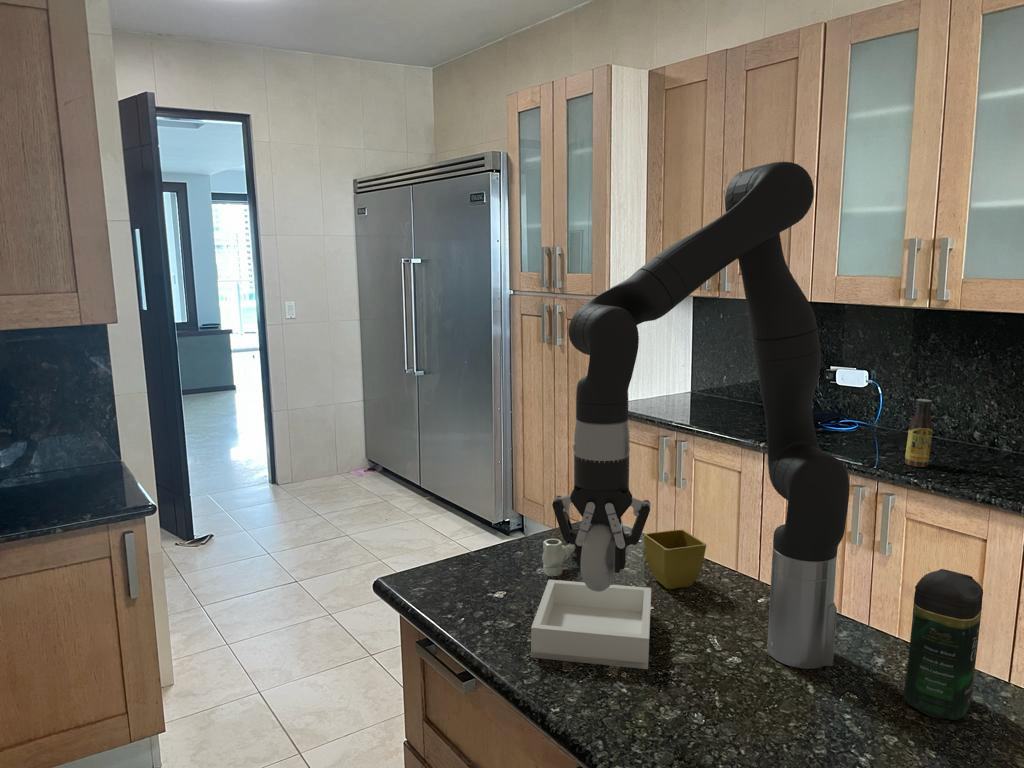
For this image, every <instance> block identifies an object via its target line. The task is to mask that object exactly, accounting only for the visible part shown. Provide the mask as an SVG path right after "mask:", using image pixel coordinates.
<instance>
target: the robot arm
mask: <svg viewBox="0 0 1024 768" xmlns="http://www.w3.org/2000/svg"><path fill="white" fill-rule="evenodd" d="M814 195H815V189H814V182H813V180H812V177H811V176H810V174H809V172H808V171H807V170H806V169H805V168H804V167H802V166H801V165H799V164H798V163H795V162H793V161H792V162H791V161H777V162H771V163H767V164H763V165H759V166H755V167H750V168H747V169H743V170H742V171H739V172H738V173H736V174H735V175H734V176H733V177H732V179H730V181H729V183H728V185H727V188H726V191H725V195H724V207H725V213H723V214H722V215H721V216H720V217H718V218H716V219H714V220H712V221H711V222H709V223H708V224H707V225H705V226H703V227H701V228H700V229H698V230H696V231H695V232H694V231H693V232H692V233H691V234H689V235H687V236H685V237H683V238H682V239H680V240H678V241H676V242H674V243H673V244H671V245H669V246H667V248H664V250H662V251H660V252H659V253H658V254H657V255H655V256H654V257H653V258H652V259H650V260H649V261H648V262H647V263H645V264H644V265H643V266H641V267H640V268H639V269H638V270H636V271H635V272H634V273H633V274H632V275H631V276H629V277H628V278H627V279H625V280H623V281H621V282H620V283H618V284H616V285H613V286H612V287H610V288H609V289H607V290H604V291H603V292H601V293H600V294H598V295H596V296H595V297H593V298H592V299H590V300H587V302H586V303H584V304H583V305H582V306H580V308H578V310H577V311H576V312H575V313H574V315H573V316H572V318H570V322H569V325H568V338H569V341H570V343H571V344H572V346H573V347H574V348H575V349H576V350H577V351H578V352H580V353H582V354H584V355H587V356H589V361H588V367H587V374H586V375H585V376H583V377H581V378H580V379H579V381H578V382H577V385H576V394H575V397H576V398H575V403H576V404H575V405H576V406H575V428H574V437H573V444H572V445H573V446H572V449H573V459H574V460H573V471H574V472H573V489H572V490H571V493H570V494H569V495H563V496H561V495H557V496H555V498H554V499H553V501H552V503H551V505H552V509H553V511H554V516H555V518H556V521H557V524H558V527H559V530H560V533H561V535H562V539H563V540H564V541H565V542H566V541H572V542H574V543H575V544H576V555H575V556H576V557H575V563H576V565H577V567H581V564H580V563H581V552H582V546H583V542H584V539H585V536H586V534H587V532H588V530H589V528H590V526H591V525H592V524H598V523H602V524H605V525H610V526H611V529H612V533H613V534H614V538H615V541H616V547H615V573H616V574H620V573H621V570H625V567H626V561H627V555H626V554H627V547H628V546H636V545H638V544H639V541H640V539H641V536H642V534H643V531H644V528H645V525H646V523H647V520H648V517H649V515H650V512H651V501H650V500H648V499H643V500H640V499H638V498H635V497H633V495H632V492H631V491H630V451H631V450H630V449H631V447H630V444H631V443H630V428H629V387H630V385H631V384H630V383H631V380H632V378H633V373H634V370H635V365H636V361H637V356H638V351H639V347H640V346H639V345H640V344H639V343H640V342H639V341H640V340H639V339H640V338H639V337H640V335H639V329H638V325H639V324H643V323H645V322H651V321H656V320H658V319H661V318H662V317H664V316H665V315H667V314H668V313H669V312H670V311H671V310H673V309H674V308H675V307H676V306H678V305H679V304H681V303H682V302H683V301H684V300H685V299H687V298H688V297H689V296H690V295H691V294H692V293H693V292H695V291H696V290H698V289H699V288H700V287H701V286H702V285H704V284H705V283H706V282H708V281H709V280H710V279H712V277H714V276H716V274H718V273H719V272H720V271H722V270H723V269H725V268H726V267H728V266H729V265H730V264H731V263H733V262H734V261H736V260H738V265H739V269H740V273H741V274H740V275H741V279H742V285H743V291H744V296H745V302H746V309H747V312H748V317H749V318H748V320H749V327H750V328H749V329H750V334H751V335H750V337H751V342H752V348H753V353H754V354H753V356H754V363H755V367H756V372H757V375H758V382H759V390H760V395H761V399H762V405H763V411H764V416H765V427H766V444H767V468H768V475H769V476H768V477H769V480H770V483H771V485H772V487H773V489H774V490H775V491H776V492H777V494H778V495H780V496H781V497H782V498H783V499H785V500H786V501H787V509H786V517H785V523H783V524H781V525H779V526H777V527H776V528H775V529H774V531H773V532H774V533H773V537H772V538H773V541H772V556H771V575H770V587H769V588H770V590H769V607H768V608H769V610H768V623H767V625H768V627H767V636H766V637H767V639H766V640H767V642H766V643H767V646H766V649H767V650H766V651H767V653H768V654H769V655H770V657H772V659H775V661H777V662H779V663H782V664H783V665H786V666H789V667H792V668H797V669H805V670H807V669H808V670H809V669H810V670H811V669H813V670H814V669H819V668H823V667H833V666H834V653H835V639H836V629H837V628H836V627H837V613H838V612H837V610H838V609H837V605H836V604H835V600H834V599H835V589H836V588H835V586H836V574H837V573H836V570H837V560H838V547H839V545H840V543H841V541H842V539H843V537H844V535H845V530H846V524H847V518H848V517H847V516H848V508H849V502H850V501H849V500H850V491H851V490H850V476H849V473H848V469H847V467H846V466H845V464H844V463H843V462H842V461H841V460H840V459H839V458H837V457H836V456H834V455H832V454H830V453H828V452H825V451H824V450H822V449H821V447H820V444H819V443H818V438H817V434H816V428H815V424H814V423H815V422H814V416H813V415H814V414H813V402H814V396H815V393H816V392H815V391H816V389H817V386H818V382H819V381H818V380H819V377H820V373H821V372H820V371H821V366H822V353H821V352H822V351H821V343H820V336H819V330H818V323H817V319H816V314H815V312H814V310H813V308H812V306H811V304H810V302H809V300H808V298H807V297H806V295H805V293H804V291H803V290H802V289H801V287H800V286H799V284H798V282H797V280H796V279H795V278H794V276H793V275H792V273H791V271H790V269H789V266H788V265H787V264H788V263H787V262H786V259H785V256H784V251H783V246H782V245H783V244H782V239H781V233H782V232H783V231H786V230H787V229H789V228H791V227H793V226H794V225H796V224H798V223H799V222H800V221H802V220H803V218H804V217H805V216H806V215H807V214H808V213H809V211H810V210H811V209H810V208H812V207H811V206H812V204H813V201H814V197H815V196H814ZM570 504H572V505H573V506H574V507H575V509H576V511H578V513H579V515H580V516H581V517H582V519H581V522H580V524H579V525H580V526H579V528H578V529H579V531H577V529H574V528H573V525H572V521H571V520H570V516H569V511H570V508H571V505H570ZM630 507H632V509H633V512H632V513H633V516H635V517H636V518H635V521H634V523H633V525H632V529H631V531H630V532H629V533H626V532H625V528H624V525H623V520H622V517H623V515H624V514H625V513H626V512H627V511H628V509H629V508H630Z"/></svg>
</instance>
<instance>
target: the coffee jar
mask: <svg viewBox="0 0 1024 768" xmlns="http://www.w3.org/2000/svg"><path fill="white" fill-rule="evenodd" d="M914 588H915V590H914V595H913V596H914V597H913V606H912V619H911V629H910V639H909V641H910V642H909V649H908V657H907V658H908V659H907V667H906V674H905V685H904V690H903V691H904V693H903V698H904V700H905V702H906V703H907V704H908V705H910V706H911V707H913V708H914V709H915V710H917V711H919V712H920V713H922V714H925V715H927V716H929V717H932V718H935V719H945V720H953V721H958V720H960V719H962V718H963V717H965V715H966V714H967V712H968V711H969V709H970V708H971V704H972V694H973V685H974V677H975V676H974V675H975V669H976V662H977V661H976V660H977V653H978V646H979V635H980V627H981V618H982V612H983V598H984V597H983V595H984V589H983V587H982V586H981V584H980V583H979V582H977V580H975V579H974V577H973V576H972V575H969V574H964V573H961V572H957V571H953V570H948V569H945V568H940V569H939V570H938V569H937V570H934V571H931V572H929V573H926V574H924V575H923V576H922V577H921V578H920V579H919V581H918V582H917V583H916V585H915V586H914Z"/></svg>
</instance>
